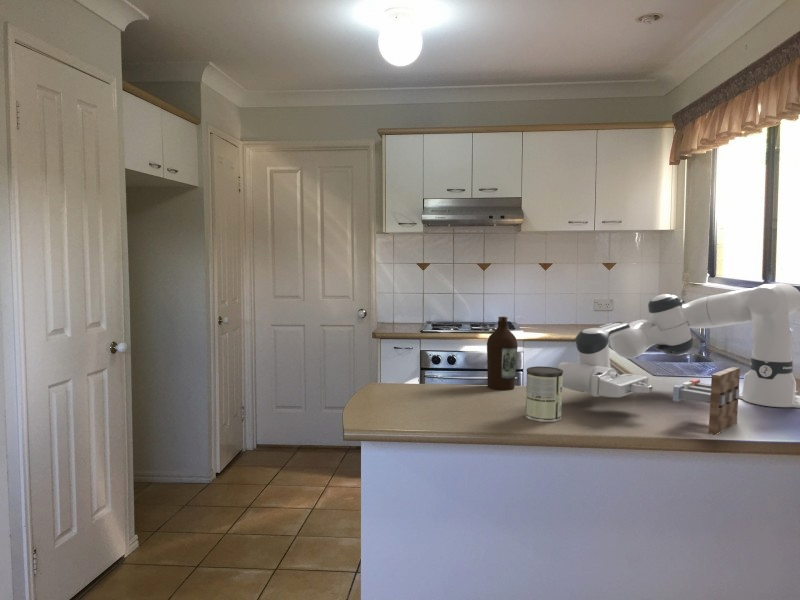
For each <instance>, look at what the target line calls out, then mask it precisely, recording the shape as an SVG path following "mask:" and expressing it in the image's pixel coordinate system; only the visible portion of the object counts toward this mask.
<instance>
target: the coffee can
mask: <svg viewBox="0 0 800 600" xmlns="http://www.w3.org/2000/svg"><path fill="white" fill-rule="evenodd" d="M562 374H563V370H561V369H559V368H558V367H553V366H552V367H551V366H538V365H537V366H530V367H527V368H526V390H525V391H526V393H525V394H526V395H525V396H526V397H525V418H526V419H528V420H531V421H535V422H540V423H553V422H554V423H555V422H559V421H561V420H562V403H563V402H562V401H563V399H562V396H563V387H562Z"/></svg>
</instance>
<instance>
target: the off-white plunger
mask: <svg viewBox="0 0 800 600" xmlns="http://www.w3.org/2000/svg"><path fill="white" fill-rule="evenodd" d="M681 385H685V386H684V389H689V390H695V391H701V392H707V393H711V389H710V388H703V387H697V386H692V382H690V381H685V382H683V383H681ZM730 401H732V392H729V391H727V402H730Z"/></svg>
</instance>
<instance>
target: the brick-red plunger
mask: <svg viewBox="0 0 800 600" xmlns="http://www.w3.org/2000/svg"><path fill="white" fill-rule="evenodd" d="M689 382H692V386H697V387H703V388H710V389H711V384H709V383H705V382H704V383H703V382H702V383H701V380H700V379H698V378H694V379H691V380H689ZM739 394H740V388H739V389H737V388H734V398H738V397H739ZM738 399H739V398H738Z"/></svg>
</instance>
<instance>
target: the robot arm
mask: <svg viewBox="0 0 800 600" xmlns="http://www.w3.org/2000/svg"><path fill="white" fill-rule="evenodd" d="M685 302H686V300H685V299H684V298H681V297H679V296H678V295H675V294H672V293H663V294H659V295H656V296H655V297H653V298H652V299H650V300H649V302H648V306H647V307H648V308H647V309H648V313H650V320H651V321H650V320H648V319H637V320H634V321H632V322H629V323H628V322H622V321H614V322H610V323H606V324H605V323H604V324H603V325H600V326H596V327H591V328H584V329H582V330H581V331H580V332H578V334H577V335H576V336H575V339H574V341H575V344H576V349H577V360H578V362H567V361H566V362H564V361H563V362H560V363H559V364H558V366H557V368H559V369H561V370H563V374H562V388H564V389H566V390H567V389H568V390H570V391H575V392H580V393H587V392H588V393H590V394H591V397H594V398H595V397H596V398H598V397H599V398H600V397H605V398H606V397H607V398H622V397H624V396H627V395H630V394H634V393H645V394H648V393H651V392H653V390H654V389H653V388H654V387H653V385H650V384H649V377H648V376H646V375H640V374H632V373H622V374H619V373H618V372H617V371H616V369H615V368H614V367H611V359H610V351H609V350H610V348H609V347H611V349H612V350H613V351H614V352H615V354H617V355H618V356H619V357H622V358H624V359H634V358H637V357H638V358H639V356H640V355H642V354H644V352H646V351H647V350H648V349H649V348H650V347H651V348H652V346H654V345H656V346H655V349H656V350H657V351H660V352H662V353H664V354H666V355H668V356H682V355H684V354H686V353H688V352H690V351H692V349H693V347H694V338H693V337H692V332H691V329H712V328H720V327H726V326H733V325H739V324H745V323H751V327H752V337H753V338H752V350H751V351H752V353H751V358H750V360H749V369H750V370H749V371H748V372H746V373H745V374H744V375H743V376H744V378H743V385H742V393H739V397H738V399H741V400H743V401H745V402H747V403H750V404H755V405H758V406H766V407H772V408H773V407H774V408H798V409H799V408H800V395H799V391H797V390H796V389H797V388H796V387H797V382H796V379H795V377H794V375H793V372H794V370H793V369H794V365H793V364H794V362H793V360H792V355H793V354H792V353H793V339H794V338H793V334H792V332H791V327H790V317H789V316H792V315H793V314H794V313H795V312H797V310H799V308H800V291H799V289H798V288H796V287H795V286H793V285H791V284H789V283H784V282H778V283H763V284H761V285H760V284H759V285H758V286H756V287H752V288H744V289H740V290H733V291H727V292H724V293H719V294H718V293H717V294H712V295H707V296H704V297H699V298H697V299H693V300H692V301H689V302H686V303H685ZM684 303H685V304H684ZM609 344H610V346H609Z"/></svg>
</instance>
